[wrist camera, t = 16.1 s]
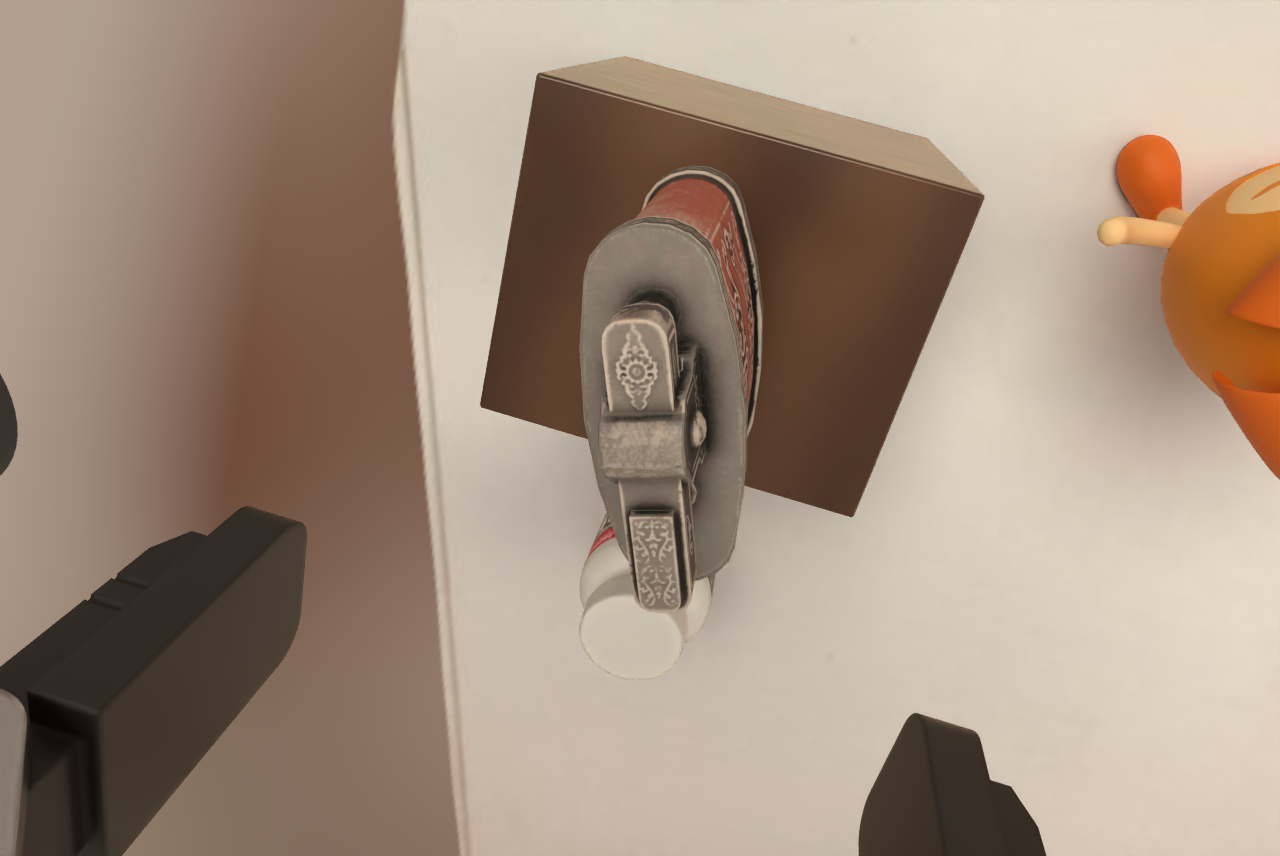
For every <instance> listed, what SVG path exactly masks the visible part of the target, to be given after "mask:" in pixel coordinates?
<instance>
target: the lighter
mask: <svg viewBox="0 0 1280 856" xmlns="http://www.w3.org/2000/svg"><path fill="white" fill-rule="evenodd" d="M762 343H763V302H762V294H761V286H760V278H759V270H758V261H757V253H756V249H755V245H754V241H753V237H752V233H751V229H750V225H749V221H748V217H747V213H746V209H745V205H744V201H743V197H742V195H741V193H740V191H739V189H738V187H737V185H736V183H734V182H733V181H732V180H731V179H730V178H729V177H728V176H727V175H726V174H725V173H723V172H720V171H718V170H715V169H713V168H711V167H705V166H688V167H684V168H679V169H675V170H674V171H672V172H670V173H669V174H667V175H666V176H664V177H662V178H661V179H660V180H659V181H658V182H657V183H656V184H655V186H654V187H653V188H652V189H651V191H650V192H649V193H648V195H647V196H646V198H645V202H644V205H643V208H642V211H641V212H640V213H639V214H638V215H637V216H636V218H635V219H634V220H630V221H627V222H626V223H624V224H622V225H621V226H619V227H617V228H616V229H614V230H613V231H611V232H610V233H609V234H608V235H607V236H606V237H605V238H604V239H603V240H602V241H601V242H600V244H599V245H598V246H597V247H596V249H595V250H594V251H593V253H592V254H591V255H590V256H589V259H588V263H587V266H586V270H585V273H584V283H583V300H582V317H581V334H580V363H581V378H582V394H583V410H584V422H585V427H586V431H587V436H588V441H589V445H590V450H591V455H592V460H593V464H594V469H595V474H596V478H597V483H598V488H599V491H600V493H601V496H602V499H603V502H604V505H605V508H606V511H607V514H608V516H609V519H610V522H611V525H612V528H613V531H614V534H615V536H616V539H617V542H618V545H619V548H620V549H621V551H622V553H623V554H624V556H625V557H626V559H627V561H628V562H629V570H630V578H631V586H632V593H633V596H634V600H635V602H636V603H637V604H638V605H639V607H640V608H642V609H644V610H646V611H648V612H655V613H676V612H681V611H683V610H684V609H686V608H687V607H688V605H689V604H690V602H691V598H692V593H693V588H694V583H695V581H698V580H701V579H704V578H706V577H708V576H711V575H713V574H715V573H717V572H718V571H719V570H720V569H721V568H722V567H723V566H725V565H726V564H727V563H728V562H729V560H730V557H731V555H732V553H733V550H734V548H735V542H736V536H737V529H738V523H739V516H740V510H741V504H742V497H743V491H744V484H745V477H746V468H747V436H748V434H749V432H750V430H751V427H752V425H753V419H754V412H755V406H756V399H757V393H758V387H759V380H760V374H761V367H762Z"/></svg>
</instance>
